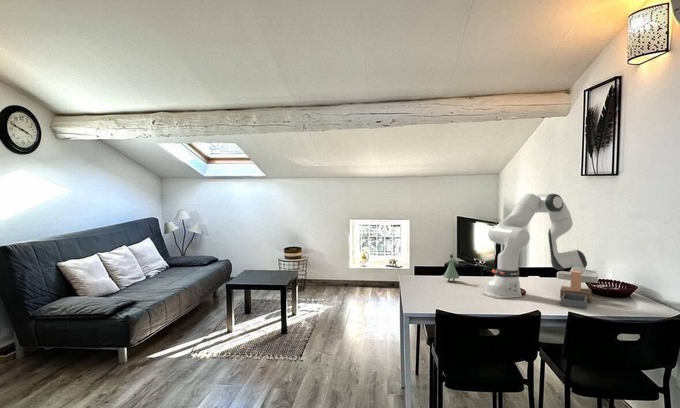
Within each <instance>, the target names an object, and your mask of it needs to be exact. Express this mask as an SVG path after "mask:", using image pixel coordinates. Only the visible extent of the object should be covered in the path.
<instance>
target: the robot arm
mask: <svg viewBox="0 0 680 408" xmlns="http://www.w3.org/2000/svg"><path fill="white" fill-rule="evenodd" d="M536 213H545V214H546V213H547V214H549V219H550V222H551V225H550V228H549V229H548V232H547V235H548V245H549V253H550V264H551V266H552V268H553V269H556V270H558V271H557V272H556V279H559V280H565V281H566V280H568V281H571V271H572V270H576V271H581V284H582V283H590V284H591V283H595V284H598V283H599V275H598V274H597V273H596V271H595V270H590V269H587V267H588V263H587V262H588V261H587V258H586V256H585V254H584V253H583V252H582V251H581V250H580V249H575V250H569V251H563V252H558V246H557V245H558V244H557V239H559V238H560V237H562V236H563V235H565V234H566V233H568V232H569V231H570V230H571V229H572V228H573V224H574V223H573V219H572V215H571V212H570V210H569V208H568V207H567V205H566V203H565V202H564V200H563V198H562V197H561V196H560V194H557V193H546V194H545V193H543V194H542V193H541V194H537V195H536V194H533V193H526V194H524V196H523V197H521V199H519V201H518V202H517V203H516V205H515V206H514V208H513V210H512V211H511V212H510V213H509V214H508V216H507V217H506V218H504V219H503V220H501V221H500V222H499V223H498V224H496V225H492V226H491V227H490V228H489V229H488V233H487V234H488V239H489V240H490V241H491V242H493V243H496V244H497V245H504V247H503V251H501V252H499V253H498V255H497V268H496V269H494V268H493V269H492V270H491V272H492V273H493V274H494V276H492V277H491V279H490V280H488V282H486V284H485V290H481V294H482V295H484V296H488V297H490V298H494V299H511V298H512V299H513V298H522V297H523V295H522V293H521V284H520V283H521V282H520V280H519V279H520V278H519V276H520V269H519V263H520V262H519V257H520V254H521V252H522V250H523V248H524V247H526V246H527V245H528V244H529V242H530V240H531V235H530V232H529V231H528V230H527V229H526V228H525V227H527V226H528V225H529V223H530V222H531V220H532V219H533V217H534V216H535V214H536ZM569 268H571V269H570V270H569V271H567V270H566V271H565V270H564V269H569Z"/></svg>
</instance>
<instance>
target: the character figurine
mask: <svg viewBox="0 0 680 408" xmlns="http://www.w3.org/2000/svg"><path fill="white" fill-rule="evenodd" d="M449 257H450V258H448V259H447V260H446V261H445V262H444V263H442V264H441V266H443V265H444V264H448V266H447V268H446V271H445V272H444V274H443V278H444V279H447V282H448V281H450V282H451V280H452V282H453V281H456V280H457V279H460V275H459V273H458V272H457V270H456V266H455V264H457V265H460V267H461V268H464V265H462V264H461V263H459V261H456V259H455V258H454V255H453V254H450V255H449ZM455 279H456V280H455Z"/></svg>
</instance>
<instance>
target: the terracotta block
mask: <svg viewBox="0 0 680 408" xmlns="http://www.w3.org/2000/svg"><path fill="white" fill-rule="evenodd" d="M570 287H571V290H574V291H581V288H582V283H581V271H576V270H572V271H571V280H570Z"/></svg>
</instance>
